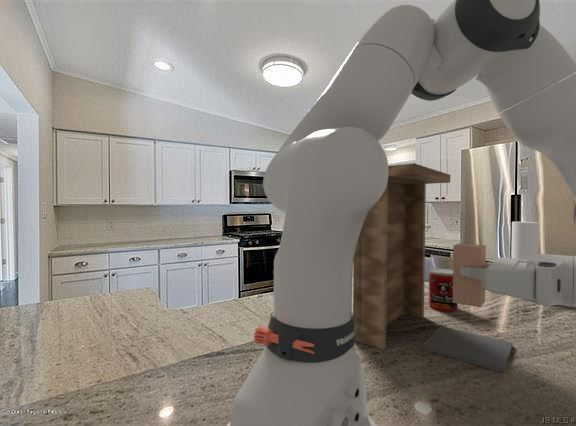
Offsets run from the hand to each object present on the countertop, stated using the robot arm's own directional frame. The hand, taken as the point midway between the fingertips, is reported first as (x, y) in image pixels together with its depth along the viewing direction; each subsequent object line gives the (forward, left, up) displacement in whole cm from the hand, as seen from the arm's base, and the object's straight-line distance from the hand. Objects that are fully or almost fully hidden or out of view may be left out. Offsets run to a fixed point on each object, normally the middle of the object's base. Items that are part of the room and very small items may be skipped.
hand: (464, 268), depth 65 cm
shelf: (+2, +12, -17) cm, 21 cm away
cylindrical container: (+53, -16, -17) cm, 58 cm away
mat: (0, -1, -17) cm, 17 cm away
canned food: (+26, +6, -17) cm, 32 cm away
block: (0, -1, -7) cm, 7 cm away
